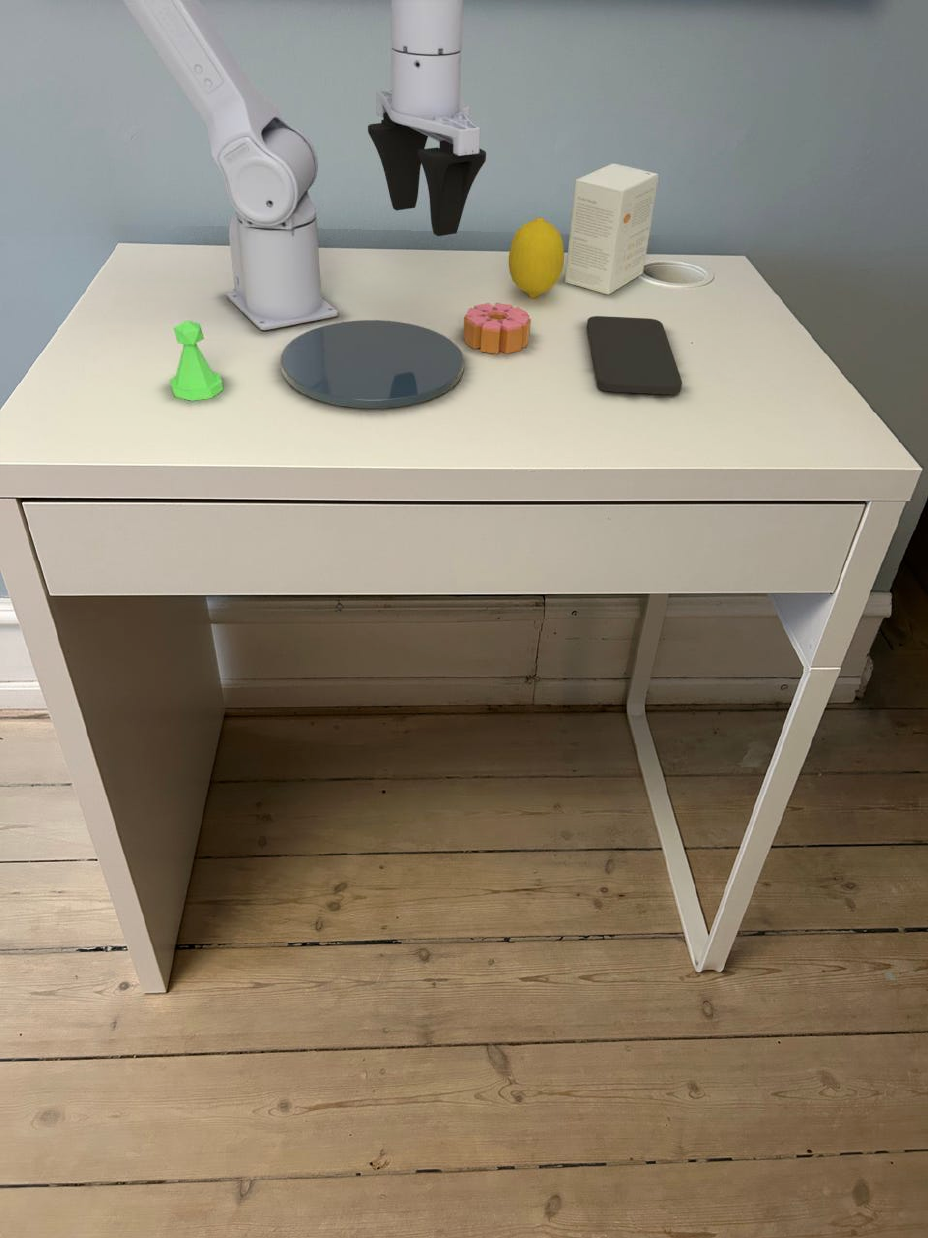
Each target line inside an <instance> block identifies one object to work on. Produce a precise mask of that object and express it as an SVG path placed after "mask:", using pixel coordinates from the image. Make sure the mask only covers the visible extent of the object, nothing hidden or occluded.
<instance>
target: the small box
mask: <svg viewBox="0 0 928 1238" xmlns="http://www.w3.org/2000/svg"><path fill="white" fill-rule="evenodd" d="M659 177H660V175H659V174H658V173H656V172H652V171H648V170H644V169H640V168H635V167H631V166H627V165H623V164H618V163H613V162H612V163H610V164H608V165H606V166H603V167H601V168H599V169H597V170H594V171H591V172H590V173H587V174H584V175H583V176H581V177H579V178H576V179H575V181H574V189H573V190H574V191H573V201H572V209H571V218H570V219H571V220H570V230H569V237H568V239H569V240H568V247H567V248H568V249H567V257H566V267H565V268H566V269H565V277H564V282H565V283H566V284H570V285H573V286H577V287H581V288H583V289H588V290H591V291H594V292H597V293H600V294H604V295H610V294H612V293H614V292H615V291H617V290H619V289H620V288H621V287H624V286H625V285H626V284H628V283H630V282H632V281H633V280H635V279H637V278H638V277H640V276H641V275H642V274H644V270H645V269H644V268H645V264H646V263H645V262H646V257H647V253H648V245H649V240H650V239H649V238H650V233H651V228H652V227H651V226H652V220H653V213H654V207H655V206H654V205H655V201H656V195H657V189H658V183H659V182H658V181H659Z"/></svg>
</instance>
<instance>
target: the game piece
mask: <svg viewBox="0 0 928 1238" xmlns="http://www.w3.org/2000/svg"><path fill="white" fill-rule="evenodd" d="M173 331H174V334H175V338H176V343H177V344H180V345H183V347H182V350H181V355H180V358H179V362H178V365H177V370H176V374H175V375H174V376H173V377H172V378H170V380H169V381H170V387H171V390H172V393H173V394H174V397H176V398H178V399H183V400H187V401H191V402H194V401H201V400H207V399H213V398H214V397H216V396H217V395H219V394H220V393H221V392H222V391H224V386H223V379H222V377H221V376H220V374H219V372H216V371H213V370H212V369H211V367H210V365H209V364H208V362H207V360H206V359H205V356H204V355H203V352H202V351H201V349H200V347H199V346H198V343H200V342H201V341H203V340H205V338H204V333H203V330H202V326H201V323H198V322H196V321H195V322H194V321H191V320H185V321H183V322H181V323H179V324H178V325H176V326H175V327H173Z"/></svg>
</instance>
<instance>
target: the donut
mask: <svg viewBox="0 0 928 1238" xmlns="http://www.w3.org/2000/svg"><path fill="white" fill-rule="evenodd" d="M531 322H532V321H531V318H530V314H528V312H527V311H525V310H524V309H523V308H522V307H519V306H517V307H513V304H507V303H500V302H495V303H494V305H493V304H492V303H489V302H487V303H480V304H477V305H474V306H473V307H469V309H468V310H467V312H466V314H465V315H464V317H463V334H462V336H463V337H462V339H463V340H464V343H465V344H466V345H467V346H469V347H470V348H471V349H473V350H476V349H480V350H479V351H480V353H488V354H494V355H499V353H500V351H501V352H503V353H504V354H505V355H508V354H512V353H517V352H521V351H522V349H525V348H526V347H527V345H528V343H529V342H530V331H531Z"/></svg>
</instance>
